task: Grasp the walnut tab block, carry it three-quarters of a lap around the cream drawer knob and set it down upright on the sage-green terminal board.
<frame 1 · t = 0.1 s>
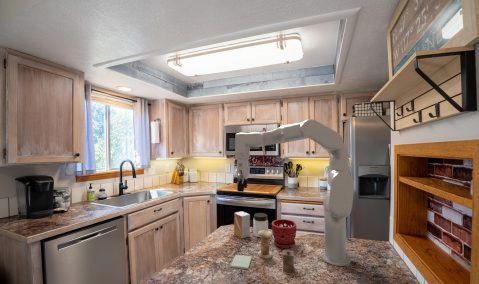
hand: (242, 189, 114), 31 cm above the countertop, fingers open, 9 cm apart
jar: (260, 235, 133), on the countertop
terminal board: (241, 262, 101), on the countertop
tab block: (288, 269, 96), on the countertop
plant pot: (284, 245, 120), on the countertop
small box: (241, 235, 133), on the countertop
cream drawer knob: (265, 255, 108), on the countertop
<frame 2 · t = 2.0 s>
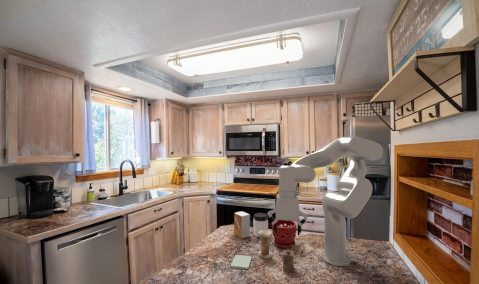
hand: (287, 233, 96), 16 cm above the countertop, fingers open, 9 cm apart
nothing on the countertop moved.
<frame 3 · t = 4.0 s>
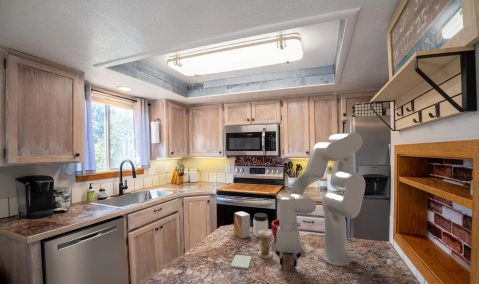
hand: (288, 266, 96), 1 cm above the countertop, fingers closed on tab block, 4 cm apart
tab block: (288, 269, 96), on the countertop, touching gripper
everything else where it was.
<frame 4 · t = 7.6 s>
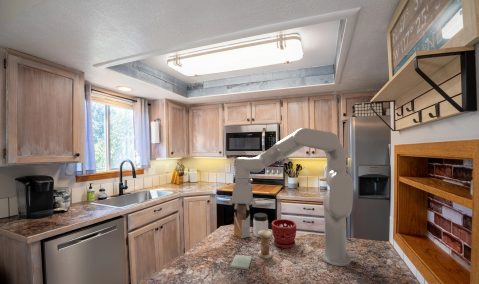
hand: (242, 216, 113), 18 cm above the countertop, fingers closed on tab block, 4 cm apart
tab block: (242, 218, 113), point 17 cm above the countertop, touching gripper
everything else where it was.
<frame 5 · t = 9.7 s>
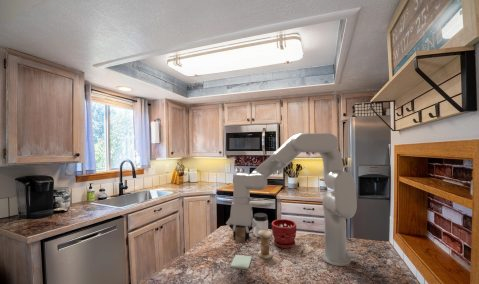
hand: (241, 239, 101), 11 cm above the countertop, fingers closed on tab block, 4 cm apart
tab block: (241, 241, 101), point 10 cm above the countertop, touching gripper
everything else where it was.
when the fingers open (3 cm above the countertop, at t = 11.3 s): tab block drops 2 cm, resting on terminal board.
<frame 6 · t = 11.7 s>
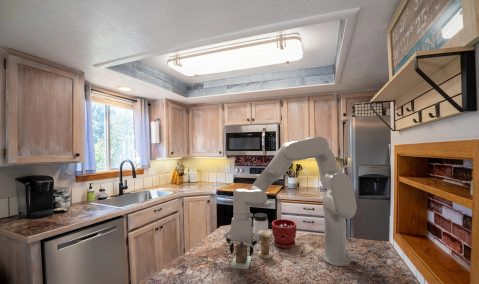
hand: (241, 253, 101), 4 cm above the countertop, fingers open, 8 cm apart
tab block: (241, 260, 101), point 1 cm above the countertop, touching terminal board
everything else where it was.
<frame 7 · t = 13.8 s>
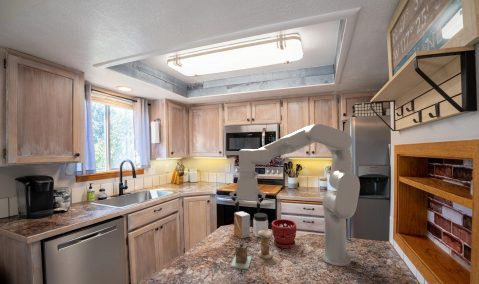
hand: (247, 211, 104), 23 cm above the countertop, fingers open, 9 cm apart
nothing on the countertop moved.
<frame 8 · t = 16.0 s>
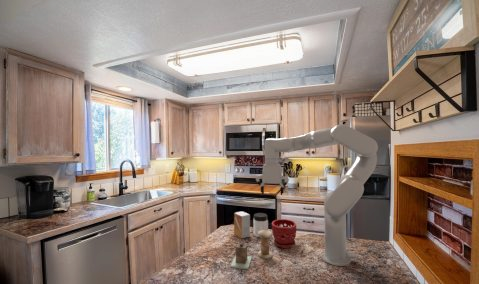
hand: (272, 194, 116), 28 cm above the countertop, fingers open, 9 cm apart
nothing on the countertop moved.
at the end: tab block inside the target area on the terminal board (0.0 cm from its centre), point 0.8 cm above the terminal board's base; tab block tilted 0°; the gripper is holding nothing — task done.
